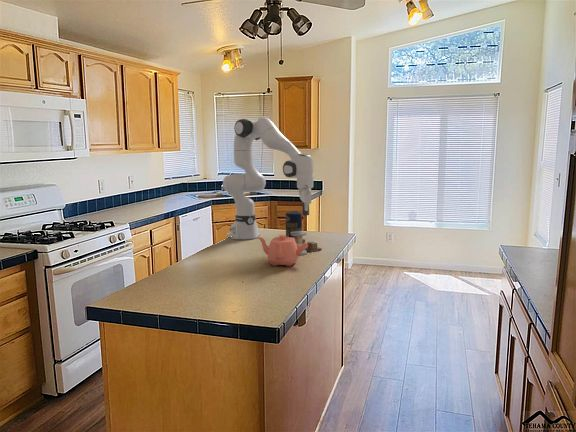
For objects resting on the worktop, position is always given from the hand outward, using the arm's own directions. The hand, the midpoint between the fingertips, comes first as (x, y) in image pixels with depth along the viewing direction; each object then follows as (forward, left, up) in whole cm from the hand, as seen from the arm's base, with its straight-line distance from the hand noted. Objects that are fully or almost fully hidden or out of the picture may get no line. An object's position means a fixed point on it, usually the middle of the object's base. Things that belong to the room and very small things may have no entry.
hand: (305, 210), depth 244 cm
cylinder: (0, 0, -3) cm, 3 cm away
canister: (-19, +5, -21) cm, 29 cm away
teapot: (+18, -28, -21) cm, 39 cm away
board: (0, 0, -21) cm, 21 cm away
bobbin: (+7, -10, -21) cm, 24 cm away
